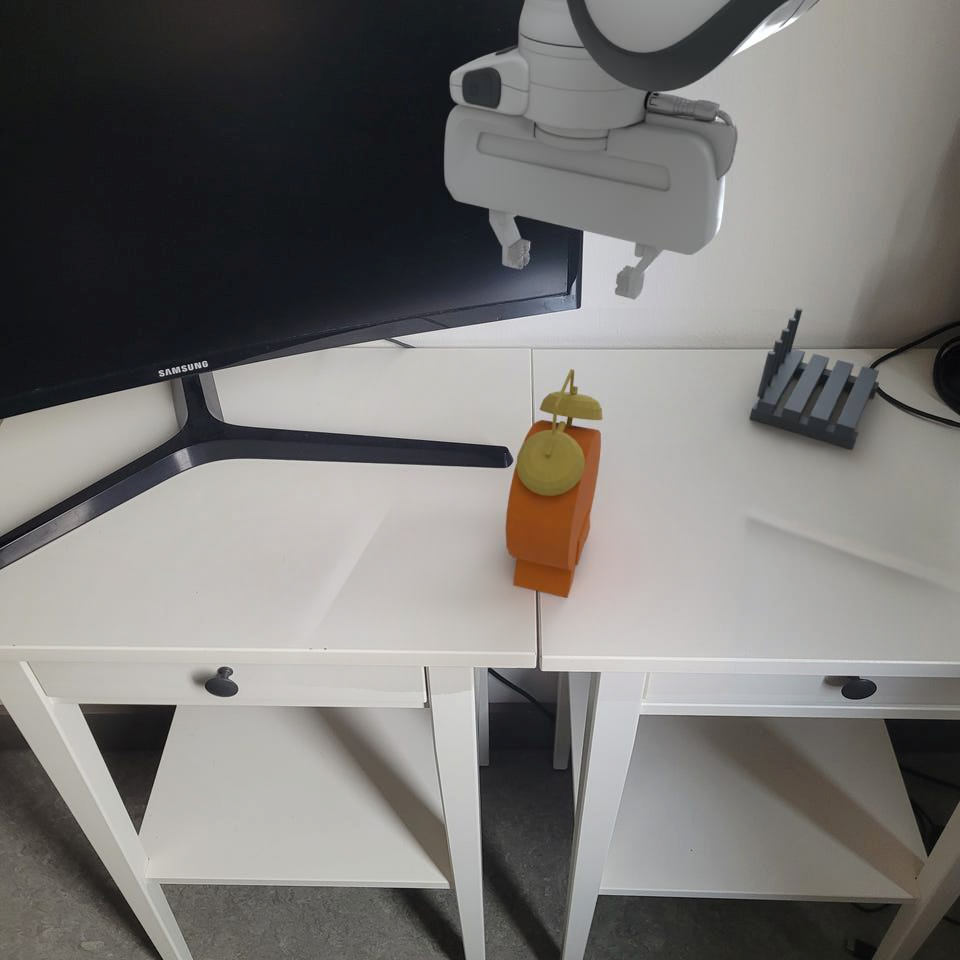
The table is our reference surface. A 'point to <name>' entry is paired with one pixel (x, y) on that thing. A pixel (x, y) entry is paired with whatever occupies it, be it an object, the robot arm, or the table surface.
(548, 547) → the alarm clock
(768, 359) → the rack
